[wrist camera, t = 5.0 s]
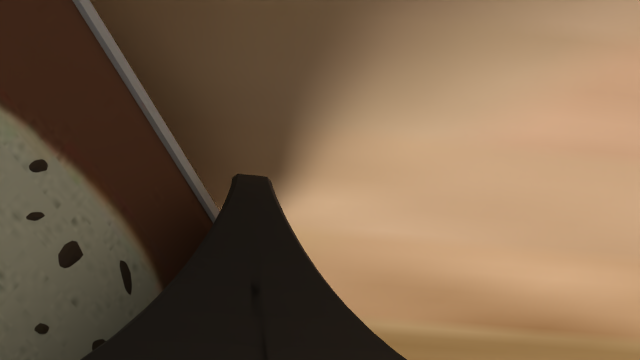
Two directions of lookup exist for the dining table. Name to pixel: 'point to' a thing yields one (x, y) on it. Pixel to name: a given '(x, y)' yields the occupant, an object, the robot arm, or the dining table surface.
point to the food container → (83, 186)
